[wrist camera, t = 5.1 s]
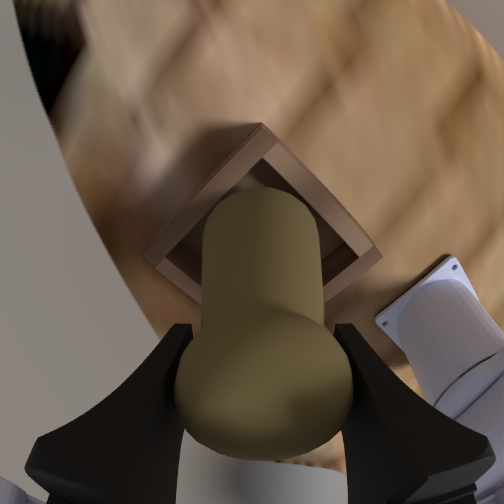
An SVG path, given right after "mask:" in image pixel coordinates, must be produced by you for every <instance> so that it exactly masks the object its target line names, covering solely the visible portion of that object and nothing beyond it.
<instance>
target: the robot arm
mask: <svg viewBox="0 0 504 504" xmlns="http://www.w3.org/2000/svg"><path fill="white" fill-rule="evenodd" d="M453 265H455V266H454V267H453ZM452 267H453V268H452ZM375 322H376V324H377V325H378V326H379V327H380V328H381V329H382V330H383V331H384V332H385V333H386V334H387V335H388V336H389V337H390V338H391V339H392V340H393V341H394V342H395V343H396V344H397V345H398V346H399V347H400V348H401V350H402V351H403V352H404V353H405V354H406V357H407V359H408V361H409V364H410V366H411V368H412V370H413V373H414V375H415V377H416V380H417V382H418V385H419V387H420V389H421V392H422V394H423V397H424V399H425V400H424V399H422V398H421V397H420V396H418V395H417V394H416V393H415V392H414V391H413V390H411V389H410V388H409V387H408V386H407V385H406V384H405V383H404V382H403V381H402V380H400V379H399V377H398V376H397V375H396V374H395V373H394V372H393V371H392V370H391V369H390V368H389V367H388V366H387V365H386V364H385V363H384V362H383V360H382V359H381V358H380V357H379V356H378V355H377V354H376V352H375V351H374V350H373V349H372V348H371V346H370V345H369V344H368V343H367V341H366V340H365V339H364V338H363V336H362V335H361V334H360V333H359V331H358V330H357V329H356V328H355V326H354V325H353V324H352V323H348V324H335V330H334V335H333V337H334V338H335V339H336V341H337V342H338V343H339V345H340V346H341V348H342V349H343V350H344V352H345V353H346V355H347V358H348V361H349V365H350V368H351V372H352V378H353V384H354V395H353V404H352V406H351V409H350V411H349V414H348V416H347V418H346V420H345V422H344V424H343V427H342V429H341V432H342V436H343V442H344V449H345V459H346V470H347V485H348V504H504V333H503V332H502V331H501V329H500V328H499V327H498V325H497V324H496V323H495V321H494V320H493V319H492V317H491V316H490V315H489V314H488V312H487V311H486V310H485V308H484V307H483V306H482V305H481V303H480V301H479V299H478V297H477V295H476V293H475V291H474V289H473V287H472V286H471V284H470V282H469V280H468V278H467V276H466V274H465V272H464V271H463V269H462V267H461V265H460V263H459V262H458V260H457V258H456V257H455V256H453V255H450V256H449V257H447V258H446V259H445V260H444V261H443V262H442V263H440V264H439V265H438V266H437V267H436V268H435V269H434V270H432V271H431V272H430V273H429V274H428V275H427V276H425V277H424V278H423V279H422V280H421V281H419V282H418V283H417V284H416V285H415V286H413V287H412V288H411V289H410V290H408V291H407V292H406V293H405V294H404V295H402V296H401V297H400V298H398V299H397V300H396V301H395V302H393V303H392V304H391V305H390V306H388V307H387V308H386V309H384V310H383V311H382V312H380V313H379V314H378V315H377V316H376V317H375ZM383 322H386V323H383ZM192 340H193V332H192V326H191V324H177V323H175V324H174V325H173V326H172V327H171V328H170V330H169V331H168V332H167V333H166V335H165V336H164V337H163V339H162V340H161V341H160V342H159V344H158V345H157V346H156V347H155V349H154V350H153V351H152V352H151V353H150V355H149V356H148V357H147V358H146V359H145V360H144V361H143V363H142V364H141V365H140V366H139V367H138V368H137V369H136V370H135V371H134V372H133V373H132V374H131V375H130V376H129V377H128V378H127V379H126V380H125V381H124V382H123V383H122V384H121V385H120V386H119V387H118V388H117V389H116V390H115V391H113V392H112V393H111V394H110V395H109V396H107V397H106V398H105V399H104V400H102V401H101V402H100V403H98V404H97V405H96V406H95V407H93V408H91V409H90V410H89V411H87V412H86V413H84V414H83V415H81V416H79V417H78V418H76V419H75V420H73V421H71V422H69V423H67V424H66V425H64V426H62V427H60V428H58V429H56V430H54V431H51V432H49V433H47V434H45V435H43V436H40V437H38V438H37V440H36V442H35V444H34V446H33V448H32V451H31V453H30V455H29V458H28V460H27V462H26V465H25V468H24V469H25V471H26V473H27V474H28V476H29V477H31V479H33V480H34V481H35V482H36V483H37V484H38V485H40V486H41V487H42V488H43V489H45V490H46V491H47V492H48V493H50V494H49V497H48V500H47V503H46V502H43V501H41V500H39V499H36V498H34V497H32V496H30V495H28V494H27V493H26V492H25V491H24V490H22V489H21V488H19V487H18V486H17V485H15V484H13V483H12V482H10V481H8V480H6V479H4V478H2V477H0V504H176V489H177V477H178V466H179V458H180V449H181V443H182V437H183V433H184V429H185V427H184V425H183V423H182V421H181V419H180V417H179V414H178V411H177V408H176V405H175V399H174V388H173V387H174V383H175V379H176V375H177V371H178V367H179V363H180V360H181V356H182V354H183V353H184V351H185V349H186V348H187V346H188V345H189V343H190V342H191V341H192Z"/></svg>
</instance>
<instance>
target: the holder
mask: <svg viewBox="0 0 504 504" xmlns="http://www.w3.org/2000/svg"><path fill="white" fill-rule="evenodd" d="M251 187H263V188H274V189H277V190H281V191H284V192H287V193H290V194H291V195H293V196H294V197H295V198H297V199H298V200H299V201H301V202H302V203H303V204H305V206H306V207H307V208H308V210H309V211H310V213H311V214H312V216H313V217H314V219H315V222H316V226H317V230H318V234H319V244H320V256H321V270H322V285H323V301H324V304H325V303H326V302H327V301H329V300H330V299H331V298H333V297H334V296H335V295H337V294H338V293H339V292H340V291H342V290H343V289H344V288H345V287H347V286H348V285H349V284H350V283H352V282H353V281H354V280H355V279H357V278H358V277H359V276H360V275H362V274H363V273H364V272H365V271H367V270H368V269H369V268H370V267H371V266H373V265H374V264H375V263H376V262H378V261H379V260H380V259H381V258H382V255H381V254H380V252H379V251H378V249H377V248H376V246H375V245H374V243H373V242H372V240H371V239H370V237H369V236H368V234H367V233H366V232H365V230H364V229H363V228H362V227H361V226H360V225H359V223H358V222H357V221H356V220H355V219H354V218H353V217H352V215H351V214H350V213H349V212H348V211H347V210H346V209H345V208H344V207H343V205H342V204H341V203H340V202H339V201H338V200H337V199H336V198H335V197H334V195H333V194H332V193H331V192H330V191H329V190H328V189H327V188H326V187H325V186H324V185H323V184H322V183H321V181H320V180H319V179H318V178H317V177H316V176H315V175H314V174H313V173H312V172H311V171H310V170H309V169H308V168H307V167H306V166H305V165H304V164H303V163H302V162H301V161H300V160H299V159H298V158H297V156H296V155H295V154H294V153H293V152H292V151H291V150H290V149H289V148H288V147H287V146H286V145H285V144H284V143H283V142H282V141H281V140H279V139H278V138H277V137H276V136H275V135H274V134H273V133H272V132H271V131H270V130H269V129H268V128H267V127H266V126H265V125H264V124H263V123H261V124H260V125H259V126H258V127H257V128H256V129H255V130H254V131H253V132H251V133H250V134H249V135H248V136H247V137H246V138H245V139H244V140H243V141H242V142H241V143H240V144H239V145H238V146H237V147H236V148H235V149H234V150H233V151H232V153H231V154H230V155H229V156H228V157H227V158H226V159H225V160H224V161H223V162H222V163H221V164H220V165H219V166H218V167H217V168H216V169H215V170H214V171H213V172H212V173H211V174H210V175H209V176H208V177H207V178H206V180H205V181H204V182H203V183H202V184H201V185H200V186H199V187H198V188H197V189H196V190H195V191H194V192H193V194H192V195H191V196H190V197H189V198H188V199H187V200H186V201H185V202H184V203H183V204H182V206H181V207H180V208H179V209H178V210H177V211H176V212H175V213H174V214H173V216H172V217H171V218H170V219H169V220H168V221H167V222H166V224H165V225H164V226H163V227H162V228H161V229H160V230H159V232H158V233H157V234H156V236H155V237H154V239H153V240H152V242H151V243H150V245H149V246H148V248H147V249H146V251H145V252H144V254H143V256H142V258H143V259H144V260H145V261H147V262H148V263H149V264H150V265H151V266H153V267H154V268H155V269H156V270H158V271H159V272H160V273H161V274H163V275H164V276H165V277H166V278H168V279H169V280H170V281H171V282H173V283H174V284H175V285H176V286H178V287H179V288H180V289H181V290H183V291H184V292H185V293H187V294H188V295H189V296H190V297H192V298H193V299H194V300H196V301H197V302H198V303H200V304H201V284H202V246H203V232H204V229H205V225H206V222H207V218H208V217H209V215H210V214H211V213H212V211H213V210H214V208H215V207H216V206H217V204H218V203H220V202H221V201H223V200H224V199H225V198H227V197H228V196H230V195H231V194H233V193H235V192H238V191H242V190H245V189H248V188H251Z"/></svg>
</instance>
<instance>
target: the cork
mask: <svg viewBox="0 0 504 504" xmlns="http://www.w3.org/2000/svg"><path fill="white" fill-rule="evenodd" d="M173 388H174V399H175V405H176V408H177V411H178V414H179V417H180V419H181V421H182V423H183V425H184V427H185V429H186V431H187V432H188V433H189V434H190V435H191V436H192V437H193V438H194V439H195V440H196V441H197V442H199V443H201V444H202V445H204V446H206V447H208V448H210V449H212V450H213V451H216V452H217V453H220V454H223V455H226V456H229V457H233V458H238V459H245V460H252V461H273V460H280V459H287V458H292V457H295V456H299V455H302V454H305V453H308V452H310V451H312V450H314V449H316V448H318V447H320V446H321V445H323V444H325V443H327V442H328V441H330V440H331V439H332V438H333V437H334V436H335V435H336V434H337V433H338V432H339V431H340V430H341V429H342V427H343V424H344V422H345V420H346V418H347V416H348V414H349V411H350V409H351V406H352V404H353V395H354V384H353V378H352V372H351V368H350V365H349V361H348V358H347V355H346V353H345V352H344V350H343V349H342V348H341V346H340V345H339V343H338V342H337V341H336V339H335V338H334V337H333V335H332V334H331V333H330V332H329V330H328V329H327V328H326V327H325V321H324V301H323V285H322V270H321V256H320V244H319V234H318V230H317V226H316V222H315V219H314V217H313V216H312V214H311V213H310V211H309V210H308V208H307V207H306V206H305V204H303V203H302V202H301V201H299V200H298V199H297V198H295V197H294V196H293V195H291V194H290V193H287V192H284V191H281V190H277V189H274V188H263V187H251V188H248V189H245V190H242V191H238V192H235V193H233V194H231V195H230V196H228V197H227V198H225V199H224V200H223V201H221V202H220V203H218V204H217V206H216V207H215V208H214V210H213V211H212V213H211V214H210V215H209V217H208V218H207V222H206V225H205V229H204V232H203V246H202V284H201V330H200V332H199V333H198V334H197V335H196V336H195V337H194V338H193V340H192V341H191V342H190V343H189V345H188V346H187V348H186V349H185V351H184V353H183V354H182V356H181V360H180V363H179V367H178V371H177V375H176V379H175V383H174V387H173Z"/></svg>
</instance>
